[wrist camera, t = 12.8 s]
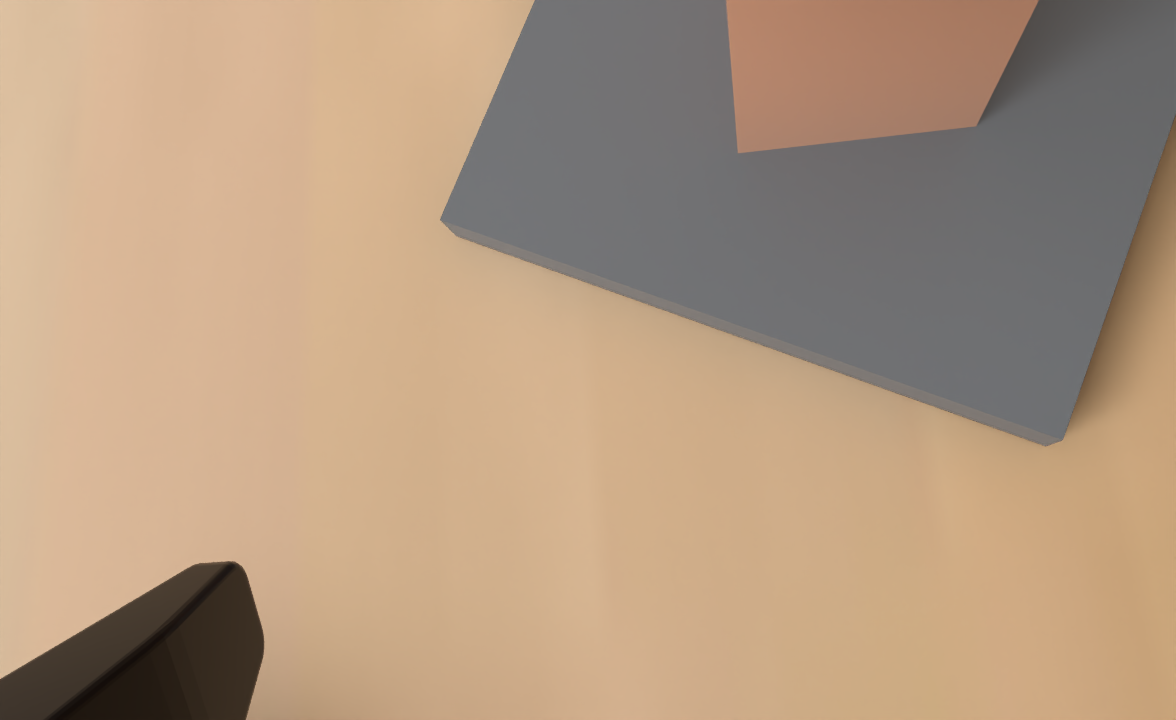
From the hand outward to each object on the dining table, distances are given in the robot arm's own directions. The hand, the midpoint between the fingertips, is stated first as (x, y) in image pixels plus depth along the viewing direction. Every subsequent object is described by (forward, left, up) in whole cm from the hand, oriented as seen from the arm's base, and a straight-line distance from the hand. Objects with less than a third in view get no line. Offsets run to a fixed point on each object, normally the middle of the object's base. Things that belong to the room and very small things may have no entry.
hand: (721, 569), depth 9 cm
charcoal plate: (+2, -11, -12) cm, 17 cm away
